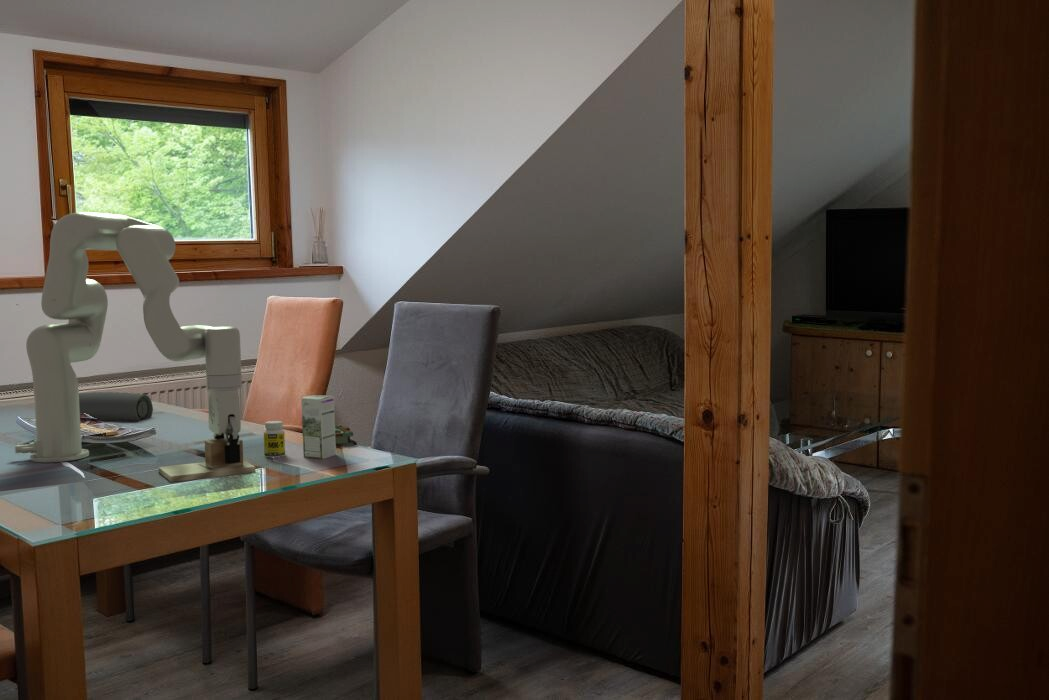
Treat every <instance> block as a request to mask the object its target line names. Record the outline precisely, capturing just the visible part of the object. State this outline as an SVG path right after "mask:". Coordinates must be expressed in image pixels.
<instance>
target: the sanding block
mask: <svg viewBox="0 0 1049 700" xmlns="http://www.w3.org/2000/svg"><path fill="white" fill-rule="evenodd" d="M239 441H240V462H238V463H229V464H226V463H225V449H224V445H226V442H225V438H224V439H214V438H213V439H205V440H204V456H205V457H204V459H205V460H204V462H205V463H206V465H207V466H208V467H210V468H220V467H228V466H237V465H243V460H244V444H243V442H244V441H243V440H242V439H240V438H239Z"/></svg>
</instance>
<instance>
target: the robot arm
mask: <svg viewBox="0 0 1049 700" xmlns="http://www.w3.org/2000/svg"><path fill="white" fill-rule="evenodd" d="M49 241H50V242H49V255H48V256H49V258H48V262H47V267H46V273H45V276H44V277H45V278H44V283H43V288H42V295H41V301H40V302H41V303H40V304H41V310H42V312H43V314H44V315H45V316H46V317H48V318H50V319H52V320H60V321H63V320H67V321H68V322H61V323H51V324H49V323H48V324H44V325H40V326H38V327H35V328H34V329H33V330H32V331H31V332H30V333H29V335H28V336H27V338H26V344H25V345H26V347H25V348H26V349H25V350H26V353H27V357H28V362H29V365H30V369H31V374H32V375H31V376H32V385H33V397H34V417H35V433H36V438H35V439H33V442H29V444H17V445H14V453H15V454H29V453H30V454H31V455H29V460H30V461H31V462H33V463H62V462H71V461H76V460H81V459H85V458H88V457H89V456H90V451H89V449H86V448H82V447H83V446H82V433H81V432H82V430H81V429H82V428H81V419H80V408H79V393H80V391H79V390H80V389H79V380H78V377H77V374H76V373H75V370H74V369H73V366H72V363H78V362H79V363H80V362H85V361H88V360H91V359H92V358H93V357H95V355H97V353H98V351H99V350H100V346H101V343H102V339H103V333H104V327H105V323H106V318H107V317H106V316H107V312H108V305H109V303H108V302H109V300H108V296H107V295H108V294H107V292H106V290H105V287H104V286H103V285H102V284H101V283H100V282H98V281H96V280H95V279H90V278H87V276H88V272H89V265H90V263H89V258H88V255H87V252H86V251H87V250H89V251H91V250H92V251H96V250H97V251H115V252H116V251H117V252H118V254H119V255H120V257H121V259H122V260H123V261H122V262H124V264H125V266H126V268H127V270H128V272H129V273H130V274H131V277H132V278H133V280H134V282H135V283H136V286H137V287H138V289H139V291H140V292H141V294H142V296H143V305H142V313H143V322H144V325H145V326H144V327H145V329H146V331H147V333H148V335H149V336H150V339H151V340H152V342H153V344H154V346H155V347H156V349H157V350H158V351H159V352H160V353H161V355H162V356H163V357H164V358H166V359H167V360H168V361H171V362H183V361H190V360H199V359H205V360H204V361H205V381H206V390H207V391H208V429H209V431H210V432H212V433H213V440H214V439H224V438H225V442H226V445H224V449H225V463H226V464H229V463H238V462H240V441H239V439H240V432H241V430H242V429H241V428H242V427H241V423H242V421H241V406H240V396H239V395H240V394H239V390H240V389H243V381H242V380H243V379H242V355H241V333H240V330H239V329H238V328H237V327H235V326H228V325H227V326H226V325H225V326H222V325H221V326H210V325H204V324H195V325H183V326H181V325H180V324H179V323H178V320H177V318H176V317H175V315H174V313H173V310H172V309H171V304H170V297H171V295H172V294H173V292H175V290H176V289H178V287H179V285H180V278H179V276H178V275H177V273H176V271H175V269H174V267H173V266H172V264H171V263H170V260H171V259H172V258H173V257H174V256H175V252H176V241H175V238H174V237H173V235H172V233H171V232H170V231H169V230H167V229H166V228H164V227H163V226H160V225H158V224H157V225H156V224H152V223H150V222H146V221H143V220H140V219H137V218H134V217H131V216H127V215H124V214H115V213H104V212H94V211H91V212H89V211H80V212H79V211H78V212H73V213H68V214H65V215H63V216H62V217H60V218H59V219H58V220H57V221H56V222H55V224H54V225H53V227H52V230H51V233H50V239H49Z"/></svg>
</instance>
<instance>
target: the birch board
mask: <svg viewBox="0 0 1049 700" xmlns="http://www.w3.org/2000/svg"><path fill="white" fill-rule="evenodd" d="M158 472H159V474H160V475H161V476H162V477H164V478H165V479H166V480H168V481H169V482H170V483H175V482H184V481H190V480H198V479H208V478H217V477H225V476H234V475H242V474H249V473H256V466H255V465H253V464H251V463H250V462H248V461H246V460H244V459H243V465H237V466H228V467H220V468H210V467H208V466H207V465H206V463H205V461H202V462H194V463H193V462H192V463H183V464H175V465H168V466H167V465H165V466H159V467H158Z"/></svg>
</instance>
